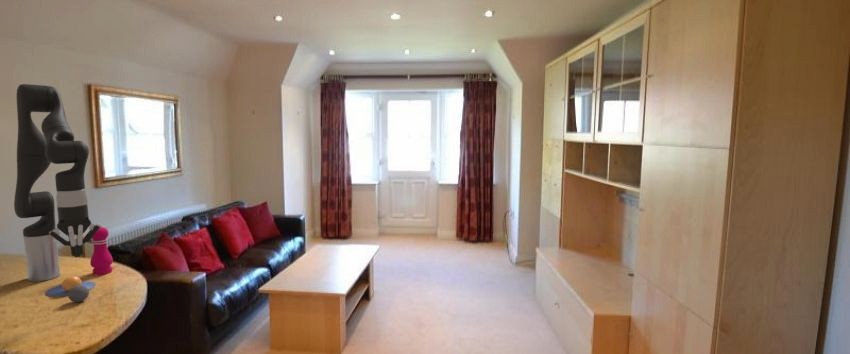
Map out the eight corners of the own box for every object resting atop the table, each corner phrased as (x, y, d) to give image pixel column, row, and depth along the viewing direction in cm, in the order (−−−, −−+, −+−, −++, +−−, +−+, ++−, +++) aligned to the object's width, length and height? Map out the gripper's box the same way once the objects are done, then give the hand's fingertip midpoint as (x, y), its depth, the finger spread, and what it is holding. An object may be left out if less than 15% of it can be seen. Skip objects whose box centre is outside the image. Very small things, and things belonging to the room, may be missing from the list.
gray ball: (66, 292, 142) (67, 306, 143) (88, 290, 145) (88, 304, 146) (69, 282, 146) (69, 296, 148) (89, 281, 149) (89, 294, 151)
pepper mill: (101, 276, 170) (97, 226, 167) (86, 274, 171) (81, 225, 168) (118, 270, 177) (114, 222, 174) (103, 268, 178) (99, 220, 175)
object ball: (61, 286, 150) (60, 295, 152) (81, 285, 153) (80, 294, 156) (62, 273, 153) (62, 282, 156) (82, 272, 156) (82, 281, 159)
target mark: (38, 291, 154) (38, 290, 154) (84, 279, 166) (84, 278, 166) (55, 299, 147) (55, 299, 147) (102, 286, 159) (102, 286, 159)
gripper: (95, 199, 145) (99, 249, 148) (43, 204, 136) (48, 258, 138) (100, 202, 140) (104, 254, 143) (46, 208, 131) (52, 264, 133)
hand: (77, 256), depth 140 cm, fingers closed
